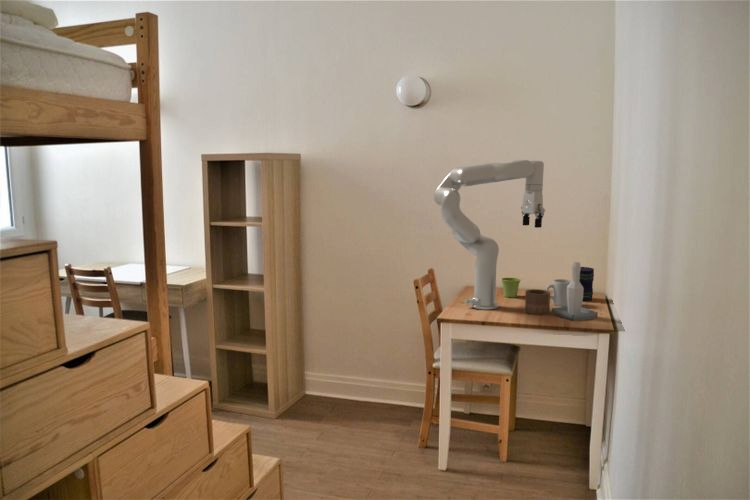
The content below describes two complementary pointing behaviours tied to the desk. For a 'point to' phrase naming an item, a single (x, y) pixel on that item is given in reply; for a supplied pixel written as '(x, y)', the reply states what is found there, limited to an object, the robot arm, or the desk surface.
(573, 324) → the desk surface
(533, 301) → the holder
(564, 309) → the tray
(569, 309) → the faceted bottle
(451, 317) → the desk surface
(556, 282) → the mug
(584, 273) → the storage jar
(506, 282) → the plant pot
